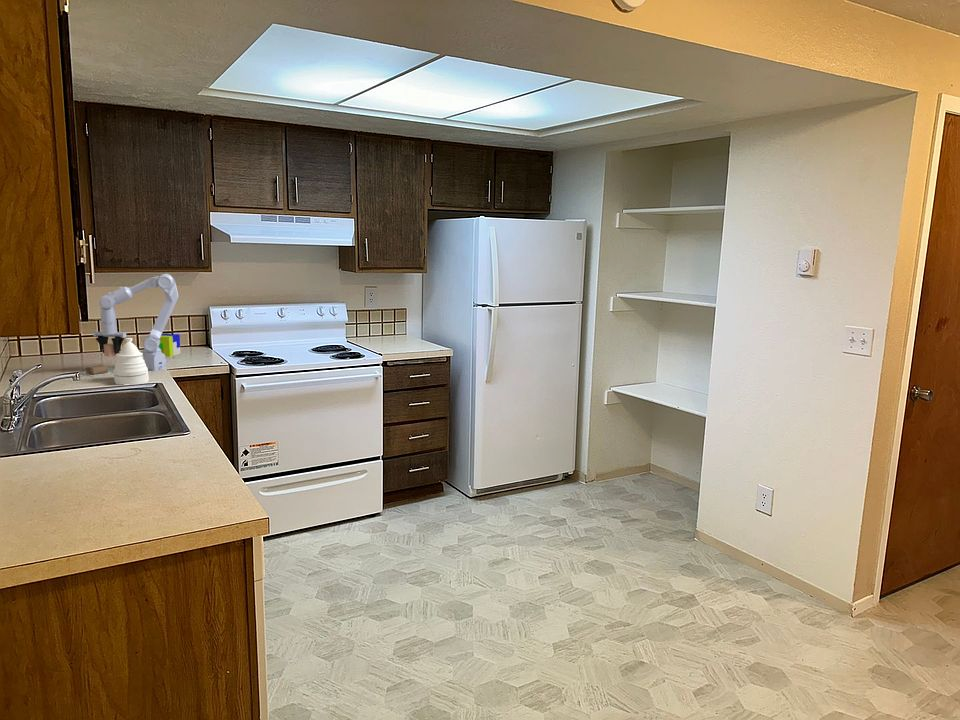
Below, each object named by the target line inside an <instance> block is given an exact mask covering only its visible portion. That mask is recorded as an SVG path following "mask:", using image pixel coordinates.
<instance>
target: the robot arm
mask: <svg viewBox="0 0 960 720" xmlns="http://www.w3.org/2000/svg"><path fill="white" fill-rule="evenodd" d="M158 287H159V288H160V289H161V290H162V291H163V293H164V295H165V297H166V298H165V300H164V303H163V305H162V307H161V308H160V311H159V314H158V315H157V318H156V320H155V322H154V324H153V326H152V329H151V331H150V333H149V335H147V336H146V337H145V339H144V340H143V343H142V347H143V348H144V349H142V351H143V352H142V353H143V355H142V356H143V360H144V361H145V364H146V367H147V368H148V371H153V372H155V371H161V370H167V358H166V357H167V356H165V355H164V354H163V353H162V352H161V349H160V348H159V347H158V346H159V344H160V337H161V335H162V334H163V332H164V330H165V328H166V326H167V323H168V321H169V318H170V316H171V315H172V313H173V310H174V308H175V306H176V303H177V302H178V299H179V292H178V288H177V287H178V286H177V282H176V280H175V279H174V277H173V276H172V275H171V274H170V273H162V274H160V276H159V275H156V276H153V277H150V278H147V279H145V280H143V281H141V282H139V283H137V284H135V285H132V286H131V287H128V286H123V287H122V286H119V287H118V289H116V290H114V291H112V292H111V291H109V292H108V293H107V294H105V295H103V296H101V297H100V298H99V300H98V305H99V306H100V321H101V331H93V333H92V334H93V337H96V338H95V341H96V342H97V343H98V344H99V346H100V349H101V351H102V353H103V354H104V345H103V344H109V343H108V341H109V338H111V342H112V343H113V345H114V352H115V354H117V353H120V351H121V348H122V347H121V346H122V344H123V342H124V340H125V339H126V338H127V332H119V331H118V330H117V329H118V327H117V318H116V317H117V316H116V309H115V308H116V307H115V305H120V304H122V303H124V302H127V301H129V300H132V299H133V295H134V294H137V293H140V292H142V291H144V290H147V289H149V288H158Z"/></svg>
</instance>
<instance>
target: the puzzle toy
mask: <svg viewBox="0 0 960 720" xmlns="http://www.w3.org/2000/svg"><path fill="white" fill-rule="evenodd" d="M180 336H181V335H180V334H178V333H176V334H175V333H162V335H161V337H160V344H159V346H158V347H159V348H160V349H161V352H162V353H163V354H164V355H165V356H166V357H169V358H170V357H173V356H176V355H180V354H181V341H180V340H181V338H180Z"/></svg>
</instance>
